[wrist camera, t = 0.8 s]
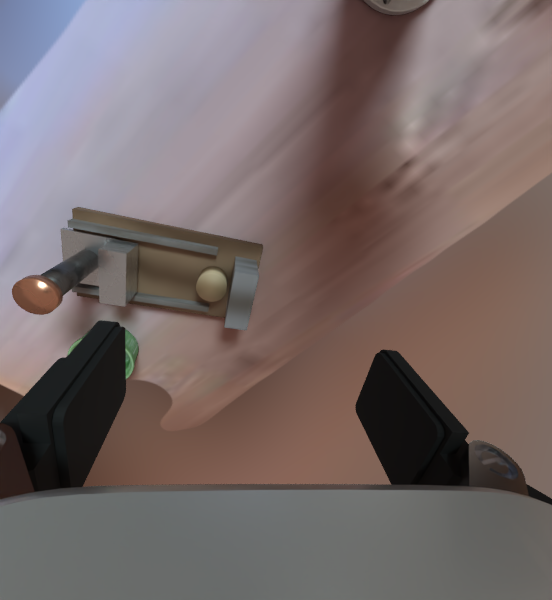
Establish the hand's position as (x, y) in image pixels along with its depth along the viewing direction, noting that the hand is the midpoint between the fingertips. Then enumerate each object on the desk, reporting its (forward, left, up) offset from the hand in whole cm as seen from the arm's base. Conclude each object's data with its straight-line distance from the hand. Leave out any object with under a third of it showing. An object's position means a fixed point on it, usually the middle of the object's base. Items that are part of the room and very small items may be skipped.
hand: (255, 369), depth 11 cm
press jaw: (+10, -17, -31) cm, 36 cm away
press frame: (+10, -8, -32) cm, 35 cm away
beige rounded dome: (+10, -3, -31) cm, 32 cm away
